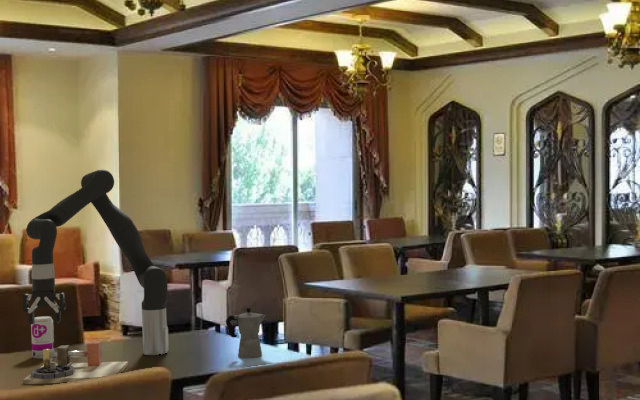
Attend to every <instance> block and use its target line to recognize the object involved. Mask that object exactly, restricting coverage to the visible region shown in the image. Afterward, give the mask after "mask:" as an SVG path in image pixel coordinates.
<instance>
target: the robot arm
mask: <svg viewBox="0 0 640 400" xmlns="http://www.w3.org/2000/svg"><path fill="white" fill-rule="evenodd" d="M114 185H115V178H114V176H113V174H112V173H111V172H110V171H109V170H106V169H96V170H94V171H91V172H89V173H87V174H85V175H84V176H82V178H81V180H80V186H81V188H79V189H78V190H76V191H74V192H73V193H71V194H70V195H68V196H66V197H65V198H63V199H62V200H60V201H58V202H57V203H56V204H55V205H54V206H52V207H51V208H50V209H49V210H47V211H45V212H43V213H40V214H39V215H37V216H35V217H34V218H32V219H31V220H30V221H29V222H28V224H27V226H26V229H25V232H26V235H27V237H29V238H30V239H32V240H39V243H38V246H35V247H34V248H32V250H31V281H32V282H31V287H32V290H31V291H32V293H31V294H29V293H25V294H23V296H22V312H23V313H27V314H28V323H29V324H30V325H31V324H34V323H35V310H36V308H38V307H51V309H53V310H54V311H55V312H54V318H55V322H54V323H55V324H59V323H60V322H61V320H62V313H61V312H64V311H65V310H66V309H67V303H66V293H65V292H60V293H56V282H55V281H56V278H55V275H56V274H55V266H54V265H55V264H54V249H55V245H56V239H57V235H58V227H62V226H64V224H66V223H67V222H68V221H70V220H71V219H72V218H73V217H74V216H76V214H78V213H79V212H80V211H82V210H83V209H84V208H85V207H87V206H88V205H89V204H92V206H93V207H94V209H96V211H97V212H98V215H99V216H100V217H101V219H102V221H103V222H104V224H105V225H106V228H107V229H108V230H109V233H110V234H111V236H112V237H113V240H114V241H115V243H116V244H117V246H118V247H119V249H120V251H121V252H122V253H123V255H124V256H125V258H126V259H127V261H128V262H129V264H130V266H131V268H132V270H133V272H134V274H135V276H136V279H137V281H138V283H139V285H140V287H142V288H143V300H142V301H141V323H142V324H141V326H142V353H143V355H146V356H159V354H161V355H166V354H165V353H167V354H168V352H169V351H168V350H169V349H170V348H169V327H168V323H167V302H168V276H167V274H166V272H165V271H164V270H163V269H162V268H160V267H158V266H156V265H155V264H154V263H153V261H151V258H150V256H148V254H147V252H146V250H145V246H144V243H143V239H142V236H141V234H140V232H139V229H138V228H137V226H136V224H135V222H134V221H133V219H131V217H130V216H129V215H128V214H127V213H125V212H124V211H123V210H122V209H120V208H119V207H118V206H117V205H115V204H114V203H113V202H112V201H111V199H110V197H109V196H108V193H109V192H111V191H112V190H113V188H114ZM56 298H57V299H58V300H59V305H58V303H57V302H56V301H55V299H56ZM30 300H32V301H33V303H32V304H31V306H30V305H29V301H30ZM29 306H30V308H29Z"/></svg>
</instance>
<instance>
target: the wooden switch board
mask: <svg viewBox="0 0 640 400" xmlns="http://www.w3.org/2000/svg"><path fill="white" fill-rule="evenodd" d="M67 351H71V350H70V345H69V344H67V345H66V344H65V345H59V346H58V347H57V348H56V352H57V358H56V359H57V360H56V361H57V362H56V361H55V362H50V371H56V365H68V366H73V367H75V373H74V374H72V375H69V376H66V377H61V378H54V379H37V378H33V377H31V373H30V374H29V375H27V376H26V377H24V378H22V385H33V384H37V385H39V384H40V385H41V384H64V383H63V382H69V381H76V380H83V379H89V378H97V377H102V376H108V375H113V374H118V373H121V372H122V373H123V371H125V370H126V369H127V368H128V367H129V361H102V363H101V364H100V365H99V366H88V362H73V361H72V362H71V357H70V358H67ZM127 366H128V367H127ZM40 367H44V364H43V365H42V366H40ZM126 367H127V368H126ZM125 368H126V369H125ZM122 373H121V374H122Z"/></svg>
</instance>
